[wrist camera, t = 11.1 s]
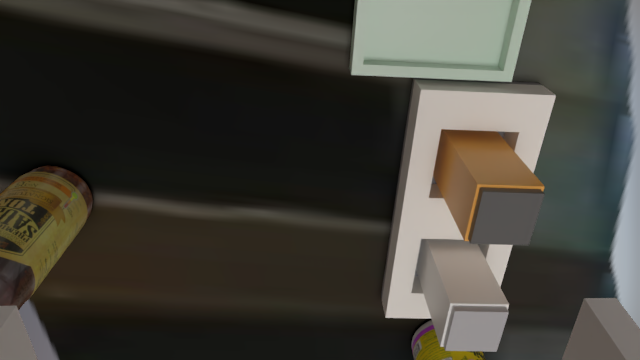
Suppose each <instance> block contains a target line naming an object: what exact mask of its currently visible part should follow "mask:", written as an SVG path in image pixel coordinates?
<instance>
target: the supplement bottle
mask: <svg viewBox="0 0 640 360" xmlns="http://www.w3.org/2000/svg"><path fill="white" fill-rule="evenodd" d="M411 346H412V352H413V357H414V360H485V358H484V355H483V353H482V351H445V349H444V347H440V344H439V341H438V338H437V335H436V331H435V328H434V325H433V322H432V320H430V321H428V322H426V323H425V324H423V325H422V326H421V327H420V328H419V329H418V330H417V331H416V332H415V334H414V336H413V338H412V344H411Z"/></svg>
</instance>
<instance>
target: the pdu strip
mask: <svg viewBox="0 0 640 360" xmlns="http://www.w3.org/2000/svg"><path fill="white" fill-rule="evenodd" d="M555 97H556V95H555V94H553V93H552V92H551V91H549V90H548V89H547V88H545V87H544V86H543V85H541V84H540V83H533V82H500V81H478V80H455V79H433V78H413V81H412V88H411V95H410V101H409V108H408V115H407V122H406V129H405V135H404V142H403V149H402V156H401V163H400V169H399V176H398V183H397V190H396V197H395V204H394V210H393V217H392V224H391V231H390V238H389V244H388V251H387V258H386V265H385V272H384V278H383V285H382V292H381V298H382V303H383V308H384V313H385V318H426V319H431V316H430V312H429V309H428V306H427V303H426V300H425V297H424V293H423V290H422V287H421V284H420V281H419V277H418V274H417V271H416V267H417V262H418V256H419V251H420V245H421V240H422V239H454V240H464V239H463V237H462V235H461V233H460V231H459V229H458V227H457V225H456V223H455V221H454V219H453V216H452V214H451V212H450V210H449V208H448V206H447V204H446V202H445V200H444V198H443V196H442V194H441V192H440V190H439V188H438V186H437V184H436V181H435V179H434V177H433V172H434V167H435V161H436V156H437V150H438V145H439V140H440V134H441V129H449V130H474V131H497V132H498V133H499V134H500V135H501V137H502V138H503V139H504V140H505V141H506V142H507V144H508V145H509V146H510V147H511V148H512V149H513V151H514V152H515V153H516V154H517V155H518V156H519V157H520V159H521V160H522V161H523V162H524V163H525V164H526V166H527V167H528V168H529V169H530V170H531V171H532V173H534V170H535V166H536V163H537V159H538V156H539V152H540V149H541V145H542V142H543V139H544V135H545V132H546V128H547V125H548V121H549V118H550V114H551V111H552V107H553V104H554V101H555ZM478 246H479V248H480V250H481V251H482V253H483V255H484V257H485V259H486V261H487V263H488V265H489V267H490V269H491V271H492V273H493V274H494V276H495V278H496V280H497V282H498V284H499V286H500V287H501V283H502V280H503V276H504V273H505V269H506V266H507V263H508V259H509V256H510V252H511V249H512V245H497V244H478Z"/></svg>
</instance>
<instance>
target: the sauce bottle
mask: <svg viewBox="0 0 640 360" xmlns="http://www.w3.org/2000/svg"><path fill="white" fill-rule="evenodd" d="M92 204H93V198H92V194H91V191H90V189H89V187H88V185H87V184H86V183H85V181H83V179H81V178H80V177H79V176H78V175H76V174H75V173H73V172H71V171H69V170H66V169H64V168H60V167H58V166H48V165H47V166H43V167H39V168H37V169H33V170H32V171H30V172H28V173H26V174H24V175H22V176H20V177H19V178H18V179H16V180H15V181H14V182H13V183H12V184H11V185H10V186H9V187H7V188H6V189H5V190H4V191H3V192H2V193H1V194H0V306H17V308H18V310H19V309H20V307H21V306H22V305H23V304H24V303H25V302H26V301H27V300H28V299H29V298H30V297H31V296H32V294H33V293H34V292H35V290H36V289H37V288H38V286H39V285H40V284H41V282H42V281H43V280H44V278H45V277H46V276H47V274H48V273H49V271H50V270H51V269H52V267H53V266H54V265H55V263H56V262H57V261H58V259H59V258H60V257H61V255H62V254H63V253H64V251H65V250H66V249H67V247H68V246H69V245H70V243H71V242H72V241H73V239H74V238H75V237H76V235H77V234H78V232H79V231H80V230H81V229H82V227H83V226H84V224H85V222H86V219H87V218H88V217H89V215H90V214H91V209H92Z"/></svg>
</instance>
